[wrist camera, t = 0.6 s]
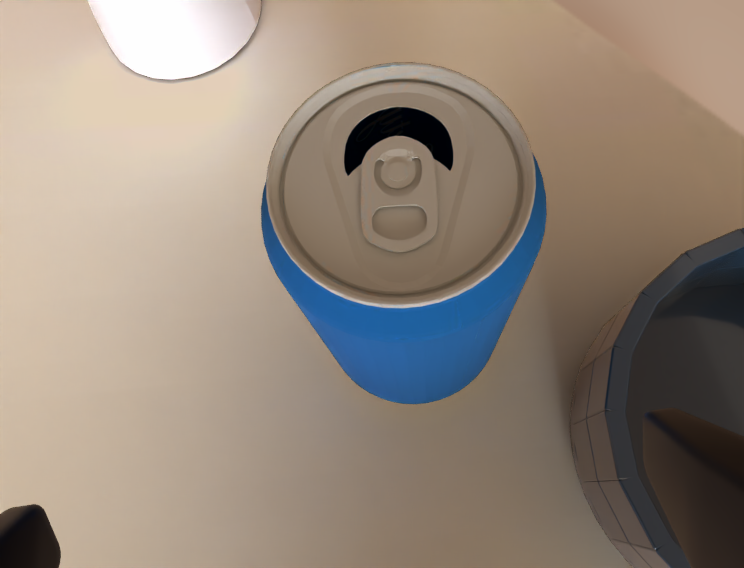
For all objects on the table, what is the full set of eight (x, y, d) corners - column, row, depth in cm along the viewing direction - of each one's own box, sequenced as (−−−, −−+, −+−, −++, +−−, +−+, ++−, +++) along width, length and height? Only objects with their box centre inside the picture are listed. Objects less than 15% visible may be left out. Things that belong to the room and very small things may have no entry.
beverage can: (489, 243, 25) (542, 36, 14) (502, 405, 23) (576, 321, 11) (331, 249, 25) (252, 55, 14) (329, 409, 23) (236, 332, 12)
